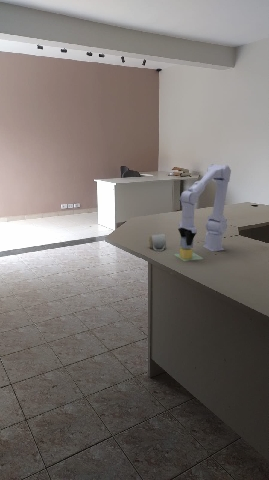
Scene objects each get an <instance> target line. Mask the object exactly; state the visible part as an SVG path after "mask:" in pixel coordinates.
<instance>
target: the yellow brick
mask: <svg viewBox="0 0 269 480" xmlns="http://www.w3.org/2000/svg"><path fill="white" fill-rule="evenodd" d="M193 250H194V248H186V249H184V248H183V247H180V248H179V254H180V257H181V258H183V259H191V258H192V252H193V253H194V251H193Z"/></svg>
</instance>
